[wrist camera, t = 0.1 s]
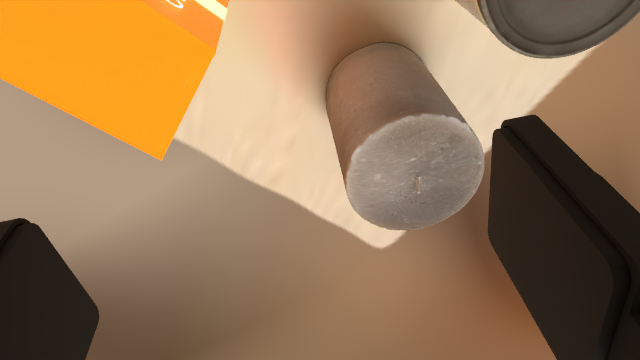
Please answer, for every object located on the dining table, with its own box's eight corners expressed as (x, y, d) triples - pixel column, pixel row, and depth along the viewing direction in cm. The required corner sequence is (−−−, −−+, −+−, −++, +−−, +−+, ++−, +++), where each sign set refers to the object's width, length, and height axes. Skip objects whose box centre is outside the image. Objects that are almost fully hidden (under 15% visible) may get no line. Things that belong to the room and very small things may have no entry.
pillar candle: (400, 149, 46) (447, 256, 34) (308, 122, 43) (325, 228, 31) (448, 60, 41) (525, 148, 29) (348, 23, 38) (386, 104, 26)
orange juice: (184, 64, 39) (127, 215, 23) (80, 0, 35) (-77, 125, 19) (234, -15, 36) (207, 96, 20) (124, -94, 32) (-19, -39, 16)
